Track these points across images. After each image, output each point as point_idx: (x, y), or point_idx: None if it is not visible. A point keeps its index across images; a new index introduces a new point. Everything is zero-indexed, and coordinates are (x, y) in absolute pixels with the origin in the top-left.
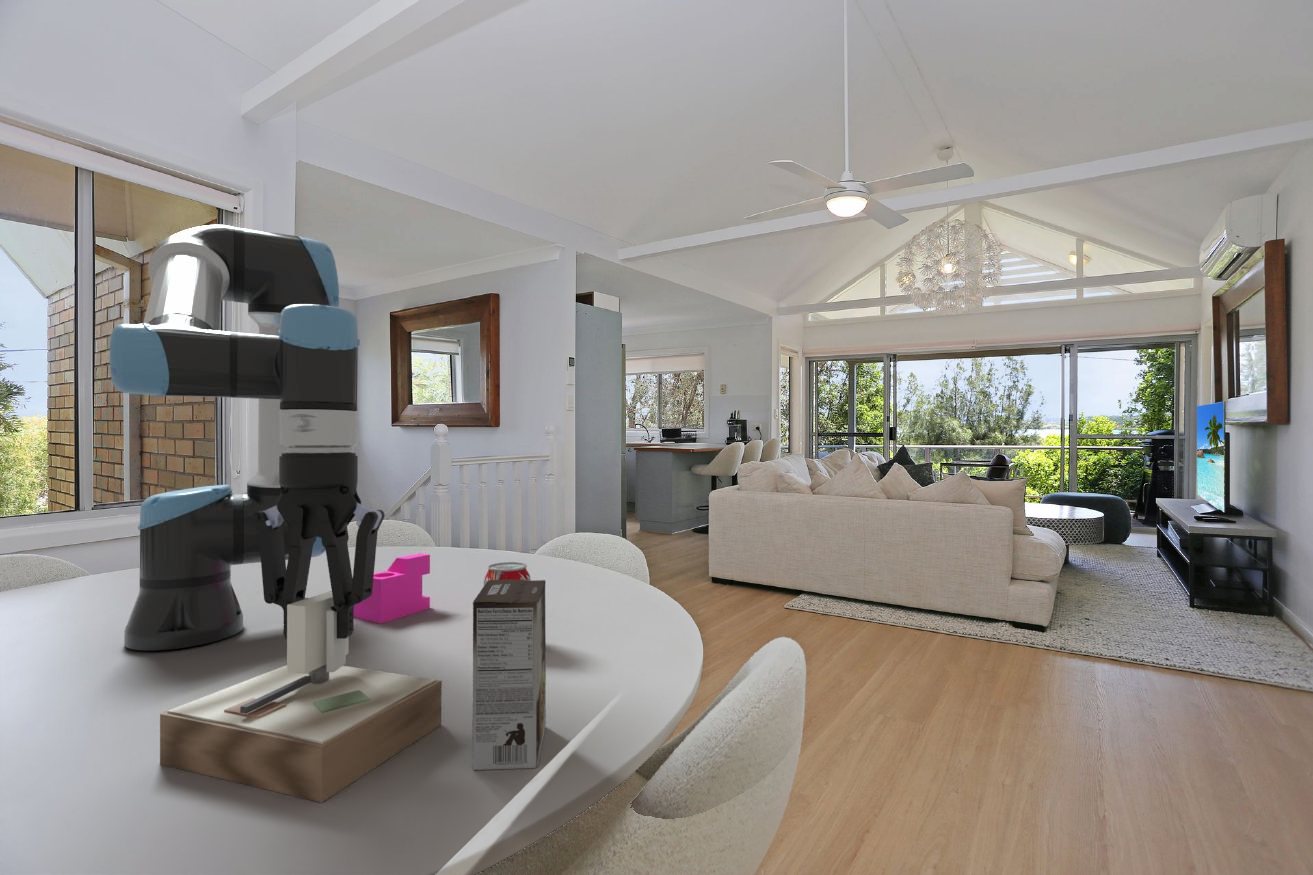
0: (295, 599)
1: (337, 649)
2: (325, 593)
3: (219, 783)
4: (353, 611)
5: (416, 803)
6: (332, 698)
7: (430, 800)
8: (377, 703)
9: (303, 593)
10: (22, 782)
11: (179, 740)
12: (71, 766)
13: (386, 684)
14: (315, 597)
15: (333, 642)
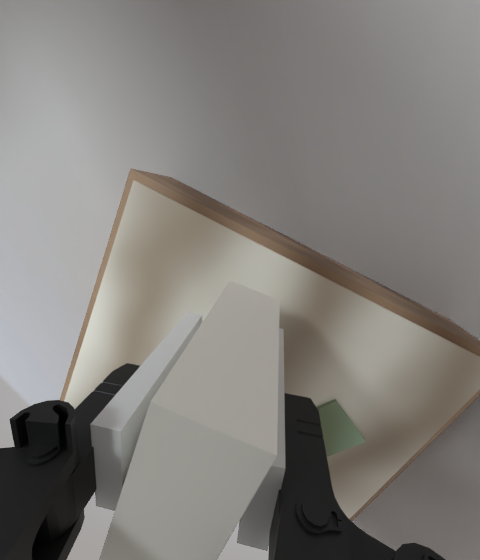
0: (61, 525)
1: None
2: (146, 462)
3: None
4: (329, 474)
5: (421, 497)
6: None
7: (437, 496)
8: (381, 452)
9: (50, 507)
10: (4, 372)
11: None
12: (18, 349)
13: (384, 374)
14: (138, 527)
15: None
